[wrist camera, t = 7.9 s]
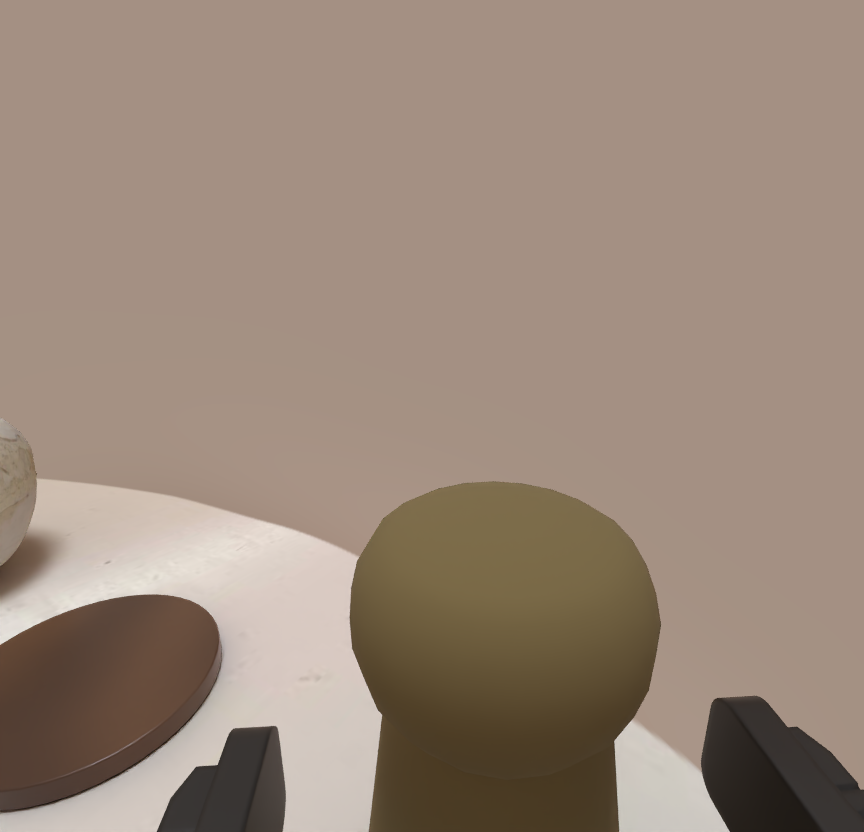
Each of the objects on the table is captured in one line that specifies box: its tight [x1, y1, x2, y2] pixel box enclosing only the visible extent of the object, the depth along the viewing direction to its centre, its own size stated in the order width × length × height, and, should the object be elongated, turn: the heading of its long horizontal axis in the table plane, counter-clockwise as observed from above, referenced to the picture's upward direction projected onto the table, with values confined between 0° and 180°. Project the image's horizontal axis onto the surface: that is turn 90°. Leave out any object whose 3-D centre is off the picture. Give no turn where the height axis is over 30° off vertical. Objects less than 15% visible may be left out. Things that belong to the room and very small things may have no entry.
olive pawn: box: [350, 482, 661, 832], centre depth 10 cm, size 6×6×11 cm
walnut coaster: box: [0, 595, 222, 811], centre depth 19 cm, size 9×9×1 cm
